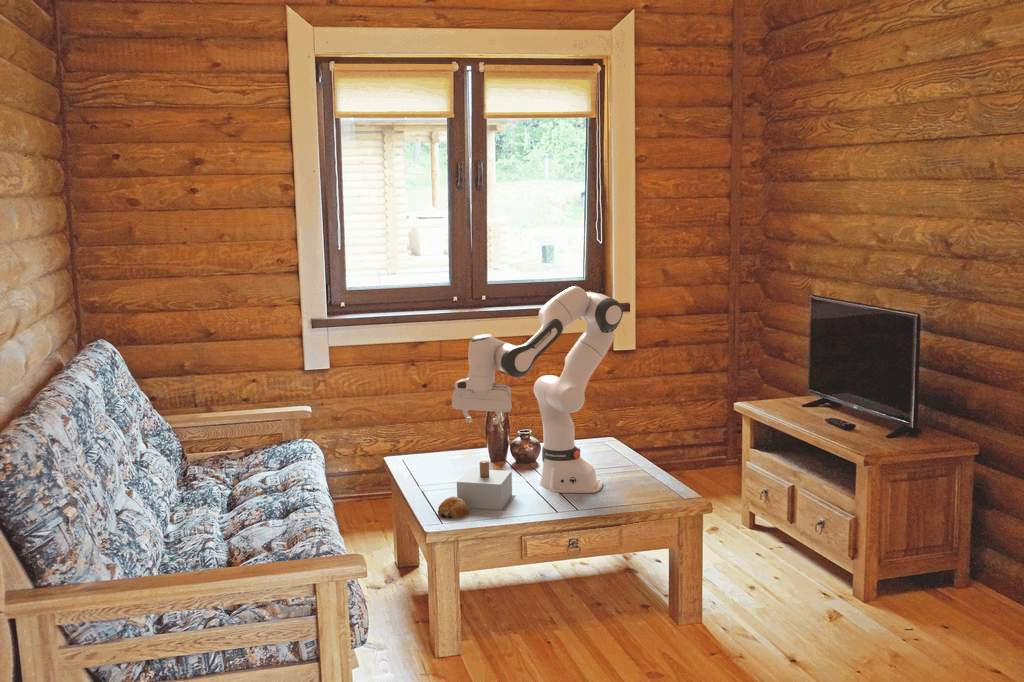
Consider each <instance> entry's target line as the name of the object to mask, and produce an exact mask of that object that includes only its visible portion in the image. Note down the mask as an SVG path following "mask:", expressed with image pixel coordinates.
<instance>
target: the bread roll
mask: <svg viewBox="0 0 1024 682" xmlns="http://www.w3.org/2000/svg"><path fill="white" fill-rule="evenodd" d="M469 512H470V511H469V508H468V505H467V504H466V503H465V501H464V500H462V499H461V498H458V497H457V496H450V497H447V498H446V499H444V500H443V501H442V502H441V503H440V504H439V506H438V510H437V515H438V516H439V517H440V518H442V519H449V520H450V519H461V518H465V517H466V516H468V515H469Z"/></svg>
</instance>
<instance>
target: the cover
mask: <svg viewBox="0 0 1024 682" xmlns="http://www.w3.org/2000/svg"><path fill="white" fill-rule="evenodd" d="M512 495H513V472H512V470H502V469H501V470H497V469H490V461H488V460H481V461H479V468H468V470H466V471H465V472H464V473H463V475H462V476H460V478H459V479H458V480H457V481H456V497H458V498H461V499H462V500H464V501H465V503H466V504H467V505H468V509H471V508H479V509H478V510H486V509H494V510H493V511H501V510H502V508H503V507H504V506H505V504H506V503H507V502H508V500H509V499H510V498H511V496H512Z"/></svg>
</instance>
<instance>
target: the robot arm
mask: <svg viewBox="0 0 1024 682" xmlns="http://www.w3.org/2000/svg"><path fill="white" fill-rule="evenodd" d="M623 309H624V308H623V306H622V304H621V303H620V302H619V301H617V299H615V298H612V297H609V296H607V295H606V294H603V293H598V292H594V291H590V290H585V289H584V288H583V287H582V288H581V287H580V286H577V285H572V286H570V287H568V288H566V289H564V290H563V291H561V292H560V293H558V294H556V295H555V296H554V297H552V298H551V299H549V300H548V301H547V302H546V303H545V304H544V305H543V306H542V307H541V308H540V309H539V310H538V316H537V317H538V323H539V325H540V329H539V330H538V331H537V332H535V334H534V335H533V336H531V338H530V339H528V340H527V341H526V342H525V343H524V344H520V345H515V344H512V343H509V342H506V341H503V340H500V339H498V338H496V337H494V336H493V335H492V334H490V333H483V334H482V333H481V334H477V335H474V336H473V337H472V338H471V339H470V341H469V344H468V350H467V351H468V355H467V361H468V365H469V368H468V369H469V370H468V373H467V375H468V377H464V378H461V379H459V380H457V381H456V382H455V383H454V388H455V389H453V392H452V395H451V397H452V399H451V406H452V407H453V408H452V409H454V410H462V414H463V416H464V418H465V423H472V416H470V415H469V413H468V412H469V411H482V412H495V415H496V416H495V417H493V418H492V420H491V421H492V425H498V424H499V418H500V417H501V415H502V413H508V412H510V411H511V410H512V407H513V405H512V388H511V387H510V386H509V385H508V384H505V383H504V384H502V383H495V382H496V380H495V379H496V377H495V372H496V371H501V372H503V373H505V374H507V375H509V376H511V377H513V378H522V377H524V376H526V375H527V374H528V373H529V372H531V369H532V367H533V366H534V364H535V362H537V360H538V358H539V357H540V356H542V355H543V354H544V352H546V351H547V350H548V348H550V346H552V345H553V344H554V343H555V342H556V341H557V339H558V338H560V336H561V335H562V333H563V332H564V331H565V330H566V329H567V328H568V327H569V326H570V325H572V324H573V323H574V322H576V321H577V319H579V320H582V321H584V322H586V327H585V330H584V332H583V333H582V334H581V335H580V336H579V338H578V339H577V340H576V342H575V343H574V345H573V347H571V349H570V351H569V352H568V353H567V355H566V356H565V358H564V367H563V369H562V372H561V374H560V376H557V375H553V374H546V375H541V376H540V377H538V378H537V379H536V380H535V382H534V385H533V393H534V396H535V398H536V399H537V404H538V408H539V412H540V417H541V420H542V421H541V423H542V431H543V436H542V437H543V439H542V440H543V442H542V443H543V446H542V449H541V459H542V471H541V477H540V480H539V486H540V487H542V488H543V489H547V490H549V491H550V492H555V493H558V494H562V493H563V494H566V493H567V494H570V493H571V494H574V493H575V494H577V493H579V494H584V493H585V494H587V493H588V494H589V493H591V494H592V493H597V492H598V491H600V490H601V489H602V488H603V481H602V480H601V479H600V478H597V473H596V470H595V467H594V466H593V465H592V464H591V463H589V462H587V461H586V460H585V459H584V458H582V457H581V447H577V446H576V445H575V424H574V421H573V419H572V417H571V414H573V413H576V412H579V411H580V410H581V409H582V408H583V406H584V404H585V400H586V397H585V392H586V388H587V385H588V383H589V381H590V378H591V377H592V375H593V373H594V372H595V371H596V369H597V367H598V366H599V365H600V363H601V362H602V361H603V359H604V358H605V356H606V355H607V353H608V352H609V349H610V347H611V345H612V343H613V341H614V340H615V339H614V338H615V336H616V335H615V330H616V329H617V328H618V326H619V324H620V323H621V320H622V318H623V315H624V314H623V313H624V310H623Z"/></svg>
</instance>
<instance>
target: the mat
mask: <svg viewBox="0 0 1024 682" xmlns="http://www.w3.org/2000/svg"><path fill="white" fill-rule="evenodd" d="M516 497H517V495H516V494H512V496H511V498H510V499H509V500H508V502H507V503H506V504H505V506H504V507H503V508H502V510H500V511H503V512H505V511H507V509H508V508H509V507H510V505H511V503H512V502H513V500H514V499H515V498H516ZM470 509H471V510H472V509H473V510H474V509H475V510H480V509H479V508H470ZM485 510H489V511H495V510H494V509H485Z"/></svg>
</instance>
